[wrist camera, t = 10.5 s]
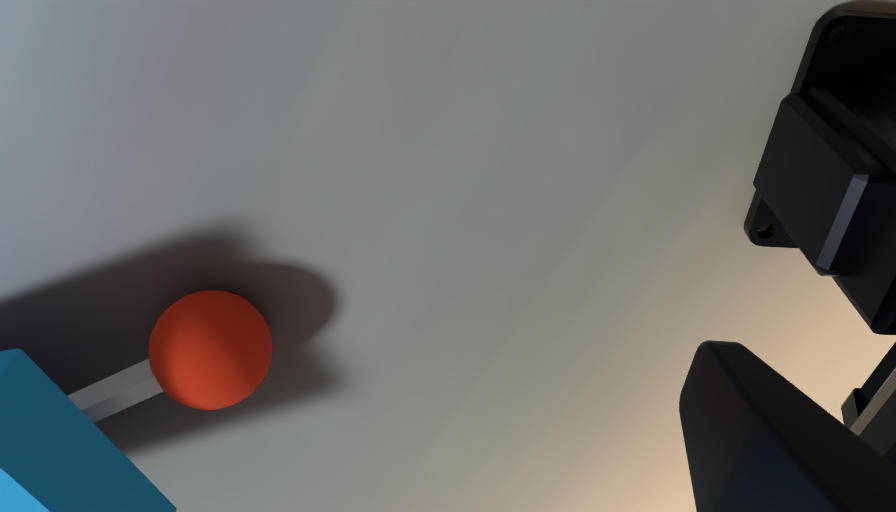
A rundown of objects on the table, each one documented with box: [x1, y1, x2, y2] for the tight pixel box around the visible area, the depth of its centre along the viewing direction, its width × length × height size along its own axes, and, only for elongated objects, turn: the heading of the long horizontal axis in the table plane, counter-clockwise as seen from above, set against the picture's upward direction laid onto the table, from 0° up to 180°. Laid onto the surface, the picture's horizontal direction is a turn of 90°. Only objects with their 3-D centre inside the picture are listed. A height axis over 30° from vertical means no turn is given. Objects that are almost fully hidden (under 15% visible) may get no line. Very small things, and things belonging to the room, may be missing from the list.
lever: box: [0, 290, 273, 512], centre depth 24 cm, size 7×7×18 cm
